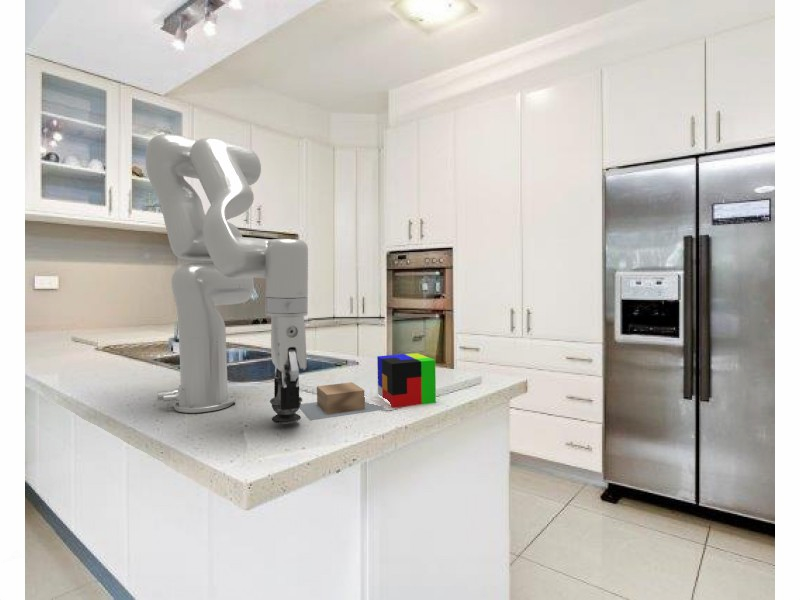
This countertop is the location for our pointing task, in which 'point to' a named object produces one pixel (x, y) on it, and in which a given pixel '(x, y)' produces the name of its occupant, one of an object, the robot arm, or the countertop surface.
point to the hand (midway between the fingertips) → (286, 402)
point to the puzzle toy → (406, 379)
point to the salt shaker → (282, 415)
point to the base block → (340, 398)
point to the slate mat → (317, 413)
